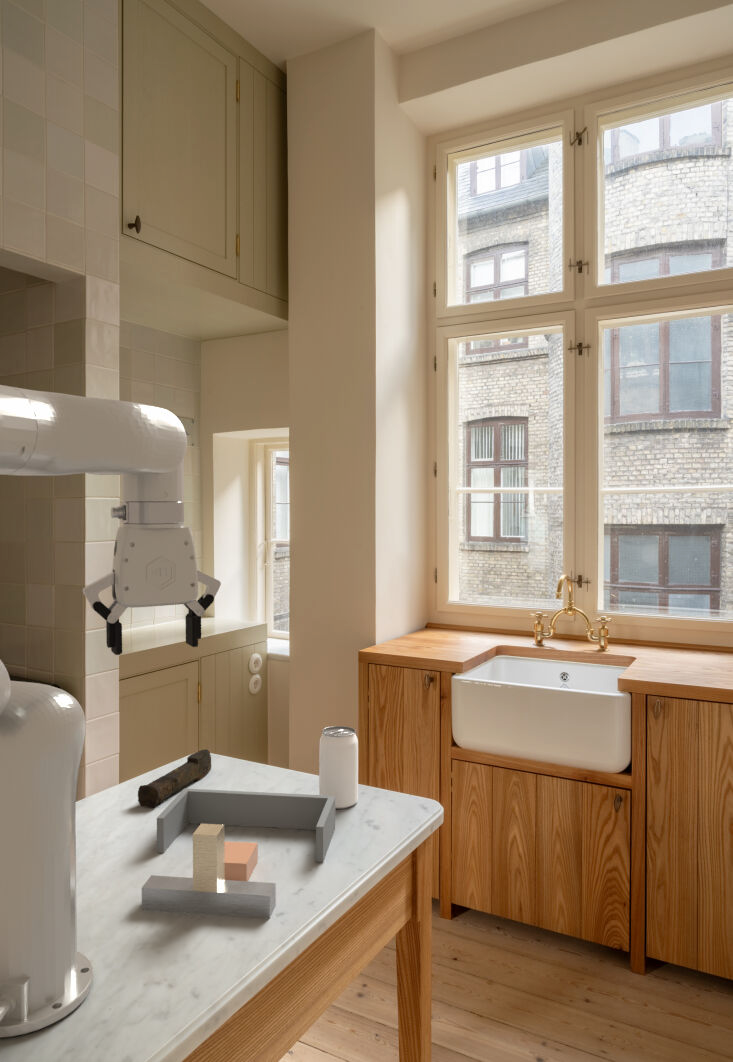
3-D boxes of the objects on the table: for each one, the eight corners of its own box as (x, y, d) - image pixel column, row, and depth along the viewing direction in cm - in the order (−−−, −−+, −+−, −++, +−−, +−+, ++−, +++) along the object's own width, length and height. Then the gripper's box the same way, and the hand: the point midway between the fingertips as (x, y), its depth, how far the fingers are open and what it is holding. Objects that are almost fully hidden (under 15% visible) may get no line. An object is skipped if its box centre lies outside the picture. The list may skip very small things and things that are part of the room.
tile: (246, 886, 97) (246, 863, 97) (202, 884, 97) (201, 861, 97) (257, 864, 103) (257, 842, 103) (215, 862, 103) (215, 841, 103)
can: (365, 801, 124) (366, 730, 123) (338, 813, 119) (338, 739, 119) (338, 791, 128) (338, 722, 128) (311, 802, 123) (311, 731, 123)
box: (323, 862, 103) (323, 826, 102) (156, 852, 105) (156, 817, 105) (335, 828, 114) (335, 795, 113) (184, 819, 116) (184, 788, 116)
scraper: (269, 920, 89) (269, 838, 88) (141, 911, 90) (141, 831, 90) (275, 906, 92) (275, 827, 91) (151, 898, 93) (151, 820, 93)
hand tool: (156, 811, 120) (156, 783, 120) (136, 807, 122) (136, 779, 121) (223, 773, 137) (223, 748, 137) (205, 770, 139) (205, 745, 139)
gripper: (88, 517, 87) (90, 662, 88) (228, 516, 96) (229, 647, 96) (77, 516, 93) (79, 650, 94) (209, 515, 102) (210, 638, 103)
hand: (155, 649), depth 95 cm, fingers open, 9 cm apart
